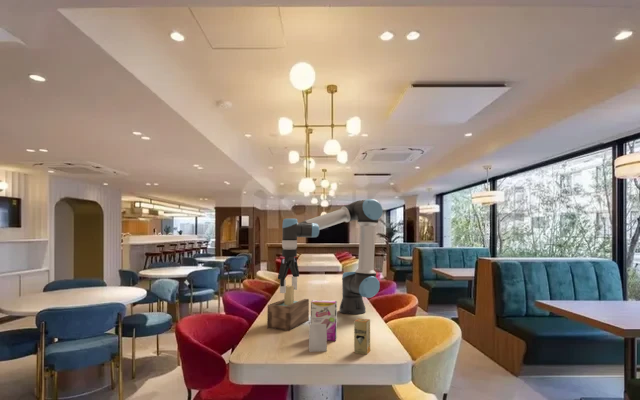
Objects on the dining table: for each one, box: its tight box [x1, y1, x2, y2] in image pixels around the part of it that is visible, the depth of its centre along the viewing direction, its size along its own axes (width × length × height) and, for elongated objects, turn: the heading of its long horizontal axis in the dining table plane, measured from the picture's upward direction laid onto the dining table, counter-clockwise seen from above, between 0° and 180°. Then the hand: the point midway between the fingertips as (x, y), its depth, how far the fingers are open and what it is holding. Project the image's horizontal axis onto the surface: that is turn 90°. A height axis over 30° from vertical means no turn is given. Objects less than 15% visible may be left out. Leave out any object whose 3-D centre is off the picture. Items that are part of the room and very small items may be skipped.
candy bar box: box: [310, 299, 338, 342], centre depth 171 cm, size 11×5×16 cm, turn 84°
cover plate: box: [279, 285, 298, 306], centre depth 199 cm, size 9×20×11 cm, turn 159°
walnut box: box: [266, 298, 310, 331], centre depth 199 cm, size 12×23×11 cm, turn 159°
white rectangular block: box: [308, 323, 328, 353], centre depth 156 cm, size 4×7×10 cm, turn 96°
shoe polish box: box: [353, 318, 371, 355], centre depth 153 cm, size 5×5×12 cm
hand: (288, 291), depth 199 cm, fingers open, 13 cm apart
